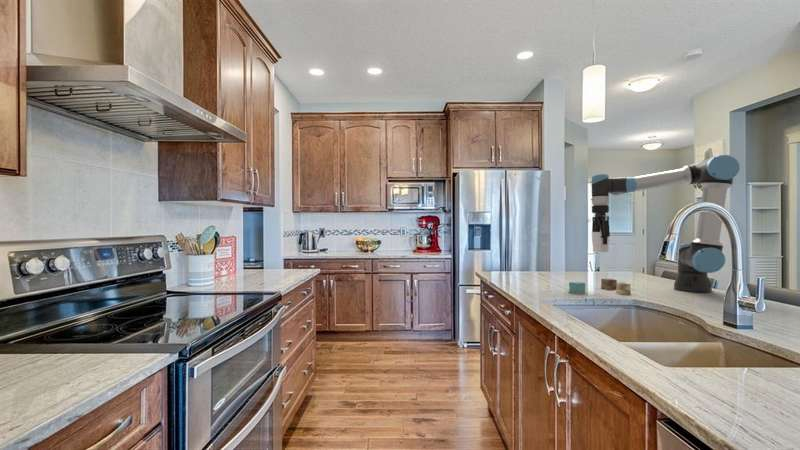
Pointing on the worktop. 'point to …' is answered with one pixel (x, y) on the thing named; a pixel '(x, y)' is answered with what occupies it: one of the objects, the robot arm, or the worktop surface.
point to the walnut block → (608, 284)
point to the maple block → (623, 288)
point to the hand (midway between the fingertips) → (600, 250)
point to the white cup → (598, 242)
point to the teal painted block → (577, 287)
